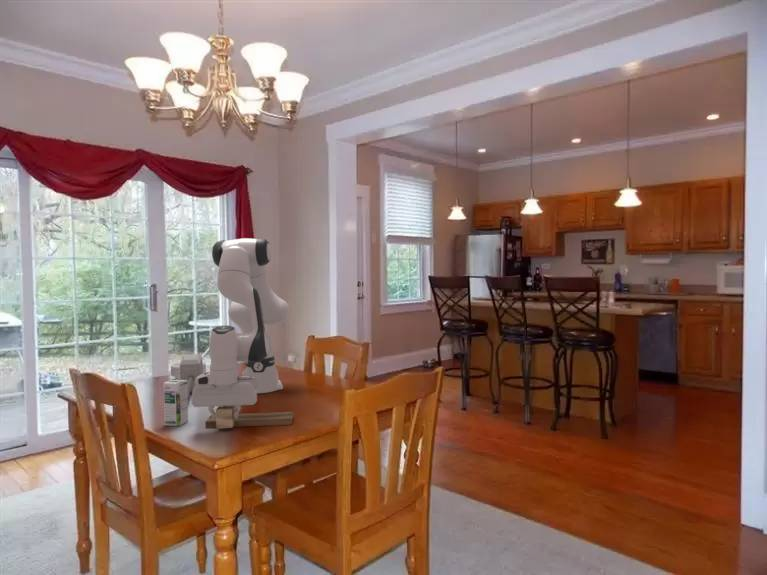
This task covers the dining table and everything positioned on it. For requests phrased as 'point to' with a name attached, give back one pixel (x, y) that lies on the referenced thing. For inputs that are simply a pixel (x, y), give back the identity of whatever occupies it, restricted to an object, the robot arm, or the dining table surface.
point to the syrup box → (175, 402)
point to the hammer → (191, 370)
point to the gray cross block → (176, 370)
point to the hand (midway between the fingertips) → (225, 418)
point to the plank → (258, 419)
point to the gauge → (225, 417)
